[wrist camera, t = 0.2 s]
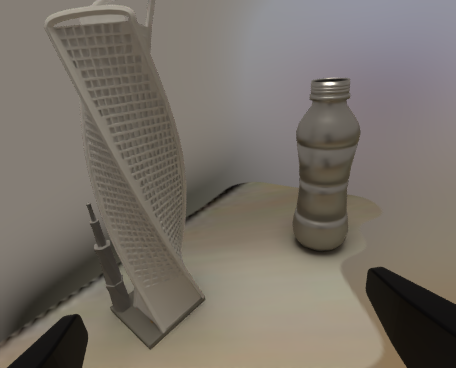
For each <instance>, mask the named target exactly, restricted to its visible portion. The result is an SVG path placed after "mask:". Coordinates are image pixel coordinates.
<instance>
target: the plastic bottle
mask: <svg viewBox="0 0 456 368" xmlns="http://www.w3.org/2000/svg"><path fill="white" fill-rule="evenodd" d="M349 90H350V79H348V78H326V79H317V80H313V81H312V83H311V94H310V100H312V101H313V103H312V106H311V107H310V108H309V110H308V111H307V112H306V114H305V115H304V117H303V118H302V120H301V121H300V123H299V125H298V128H297V131H296V139H297V147H298V157H299V175H300V179H299V181H300V186H299V193H298V200H297V207H296V210H295V213H294V218H293V231H294V235H295V237H296V239H297V240H298V241H299V242H300V243H301V244H302V245H303V246H305V247H307V248H309V249H312V250H317V251H328V250H332V249H335V248H336V247H338V246H339V245H340V244H341V243H343V241H344V240H345V237H346V234H347V232H348V216H347V186H348V179H349V176H350V170H351V165H352V162H353V159H354V155H355V152H356V148H357V145H358V141H359V137H360V126H359V123H358V121H357V119H356V117H355V115H354V114H353V113H352V111H351V110H350V108H349V107H348V106H347V101H346V100H347V99H349V98H350V93H349Z"/></svg>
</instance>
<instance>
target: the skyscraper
mask: <svg viewBox="0 0 456 368" xmlns="http://www.w3.org/2000/svg"><path fill="white" fill-rule="evenodd" d="M112 1H115V0H97V1H95V2H94V3H93V4H92V5H91V6H87V7H81V8H74V9H68V10H64V11H60V12H57V13H54V14H52V15H50V16H49V17H48V18H47V19H46V20H45V23H44V29H45V31H46V32H47V34H48V36H49V38H50V40H51V42H52V44H53V46H54V48H55V50H56V52H57V54H58V56H59V58H60V60H61V62H62V64H63V65H64V68H65V70H66V71H67V73H68V75H69V77H70V79H71V81H72V83H73V85H74V87H75V89H76V90H77V93H78V95H79V97H80V115H81V128H82V138H83V145H84V152H85V158H86V163H87V168H88V173H89V177H90V181H91V184H92V188H93V192H94V195H95V198H96V201H97V205H98V208H99V211H100V213H101V216H102V219H103V221H104V224H105V226H106V229H107V232H108V234H109V236H110V239H111V241H112V243H113V245H114V248H115V250H116V252H117V254H118V256H119V258H120V260H121V262H122V264H123V266H124V268H125V270H126V272H127V274H128V276H129V278H130V280H131V281H132V283H133V285H134V291H132V292H131V293H130V294H128V293H127V290H126V288H125V285H124V282H123V275H121V273H120V271H119V268H118V266H117V263H116V260H115V258H114V255H113V252H112V250H111V244H110V240H105V237H104V235H103V232H102V229H101V227H100V223H99V219H96V218H95V215H94V213H93V210H92V207H91V203H87V204H86V205H87V207H88V210H89V213H90V217H91V220H90V225H91V227H92V229H93V232H94V236H95V239H96V242H97V243H96V244H95V246H94V250H95V252H96V254H97V255H98V258H99V261H100V264H101V267H102V271H103V274H104V278H105V281H106V284H105V286H106V288H107V289H108V291H109V293H110V297H111V300H112V304H113V306H111V307H110V308H111V311H112V312H113V313H114V314H115V315H116V316H117V317H118V318H119V319H120V320H121V321H122V322H123V323H124V324H125V325H126V326H127V327H128V328H129V329H130V330H131V331H132V332H133V333H134V334H135V335H136V336H137V337H138V338H139V339H140V340H141V341H142V342H143V343H144V344H145V345H146V346H147V347H148V348H149V349H151V348H153V347H154V346H155V345H156V344H157V343H158V342H159V341H160V340H161V339H162V338H163V337H165V336H166V335H167V334H168V333H169V332H170V331H171V330H172V329H173V328H174V327H175V326H177V325H178V324H179V323H180V322H181V321H182V320H183V319H184V318H185V317H186V316H187V315H189V314H190V313H191V312H192V311H193V310H194V309H195V308H196V307H197V306H198V305H199V304H201V303H202V302H203V301H204V300H205V296H204V294H203V293H202V291H201V290H200V289H199V287H198V286H197V284H196V283H195V281H194V280H193V278H192V277H191V275H190V274H189V272H188V271H187V269H186V268H185V266H184V263H183V258H182V253H181V247H182V242H183V234H184V227H185V216H186V176H185V166H184V159H183V152H182V148H181V144H180V139H179V135H178V131H177V128H176V123H175V120H174V117H173V114H172V111H171V108H170V105H169V102H168V99H167V96H166V93H165V90H164V88H163V85H162V82H161V80H160V77H159V74H158V72H157V69H156V67H155V64H154V62H153V59H152V57H151V54H150V50H151V32H152V21H153V14H154V5H155V0H148V7H147V15H146V24H145V26H143V25H142V24H139V23H138V22H137V20H136V15H135V13H134V11H133V10H132V9H131V8H129V7H126V6H121V5H106V4H107V3H110V2H112ZM124 16H127V17H129V19H128V21H125V17H124ZM75 18H79V20H80V23H81V25H73V26H61V27H53V26H54V25H55V24H57V23H59V22H62V21H65V20H69V19H75Z"/></svg>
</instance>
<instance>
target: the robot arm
mask: <svg viewBox="0 0 456 368" xmlns="http://www.w3.org/2000/svg"><path fill="white" fill-rule="evenodd" d="M366 293H367V296H368V298H369V300H370V302H371V304H372V306H373V308H374V310H375V312H376V314H377V316H378V318H379V320H380V322H381V324H382V326H383V327H384V330H385V332H386V333H387V335H388V337H389V339H390V341H391V343H392V344H393V346H394V348H395V350H396V351H397V353H398V354H399V356H400V358H401V359H402V361H403V362H404V364H405V365H406V367H407V368H456V304H454V303H452V302H450V301H448V300H446V299H444V298H442V297H440V296H438V295H436V294H435V293H433V292H431V291H429V290H427V289H425V288H423V287H421V286H419V285H417V284H415V283H413V282H411V281H409V280H407V279H405V278H403V277H401V276H399V275H398V274H395V273H394V272H391V271H390V270H388V269H386V268H384V267H376V268H370V269H369V270H368V273H367V281H366ZM87 343H88V332H87V330H86V328H85V325H84V323H83V321H82V318H81V316H80V315H78V314H73V315H67V316H64V317H62V318H61V319H60V320H59V321H58V322H57V323H56V324H54V325H53V326H52V327H51V328H50V329H49V330H48V331H47V332H46V333H45V334H44V335H42V336H41V337H40V338H39V339H38V340H37V341H36V342H35V343H34V344H33V345H31V346H30V347H29V348H28V349H27V350H26V351H25V352H24V353H23V354H22V355H20V356H19V357H18V358H17V359H16V360H15V361H14V362H13V363H12V364H11V365H9V366H8V367H7V368H82V366H83V361H84V356H85V352H86V347H87Z"/></svg>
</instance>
